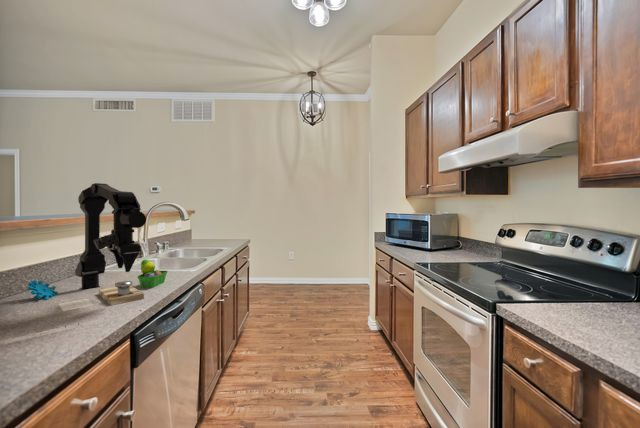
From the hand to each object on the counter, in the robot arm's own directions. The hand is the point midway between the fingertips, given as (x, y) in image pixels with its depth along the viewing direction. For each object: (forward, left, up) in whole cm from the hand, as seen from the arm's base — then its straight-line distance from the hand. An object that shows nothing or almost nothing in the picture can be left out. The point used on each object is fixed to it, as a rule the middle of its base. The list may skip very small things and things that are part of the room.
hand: (123, 269), depth 108 cm
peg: (0, 0, -12) cm, 12 cm away
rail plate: (-4, 0, -12) cm, 12 cm away
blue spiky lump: (-23, -20, -12) cm, 32 cm away
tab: (-4, -13, -12) cm, 18 cm away
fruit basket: (-18, +15, -12) cm, 26 cm away
